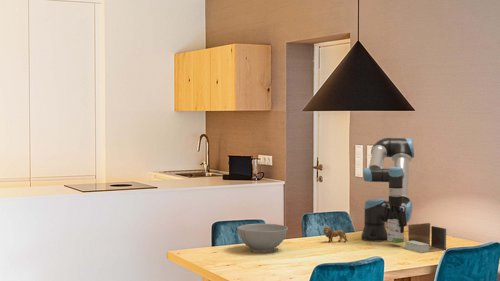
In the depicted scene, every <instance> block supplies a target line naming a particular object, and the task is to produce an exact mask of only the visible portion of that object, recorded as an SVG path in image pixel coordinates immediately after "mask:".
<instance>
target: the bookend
mask: <svg viewBox="0 0 500 281" xmlns="http://www.w3.org/2000/svg"><path fill="white" fill-rule="evenodd" d="M430 245H431V247H435V248H439V249H444V251H447V250H446V249H448V248H447V228H444V227H440V226H434V225H432V226H431V225H430Z"/></svg>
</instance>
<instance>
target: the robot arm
mask: <svg viewBox="0 0 500 281" xmlns="http://www.w3.org/2000/svg"><path fill="white" fill-rule="evenodd" d="M370 155H371V157H370V161H369V164H368V167H365V168H364V169H363V176H362V177H363V181H364V182H368V183H388V201H387V200H386V199H385V197H384V198H383V197H382V198H371V199H368V200H365V202H364V209H363V210H364V220H363V221H364V226H363V229H362V232H361V236H360V239H361V240H363V241H366V242H367V241H368V242H386V241H388V240H387V227H386V224H387V220H388V219H397V220H398V222H399V225H400V226H399V236H398V239H402V238H403V239H404V234H405V227H406V226H407V227H408V224H407V223H409V222H410V221H411V219H412V218H411V217H412V212H413V201H412V202H411V200H410V198H409V196H408V193H409V168H410V166H409V165H410V162H411V161H413V160H412V159H413V158H415V150H414V140H413V139H412V138H410V137H409V138H407V137H385V138H382V139H379V140H378V141H377V142H375V143H374V144H373V146H372V147H371V149H370ZM386 158H391V160H392V162H393V166H390V167H389V168H383V167H384V163H385V162H384V161H385V159H386Z"/></svg>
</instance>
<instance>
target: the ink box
mask: <svg viewBox="0 0 500 281" xmlns="http://www.w3.org/2000/svg"><path fill="white" fill-rule="evenodd" d="M399 226H400V225H399V222H398V220H397V219H388V220H387V223H386V232H387V240H386V241H388V242H392V243H396V244H400V243H404V237H403V238H402V239H398V236H399Z"/></svg>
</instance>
